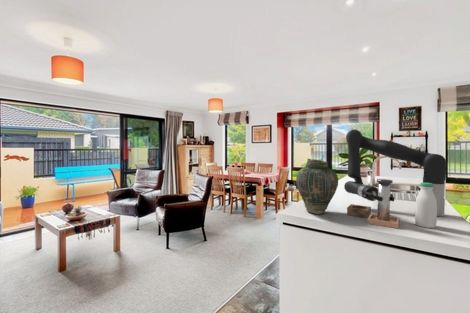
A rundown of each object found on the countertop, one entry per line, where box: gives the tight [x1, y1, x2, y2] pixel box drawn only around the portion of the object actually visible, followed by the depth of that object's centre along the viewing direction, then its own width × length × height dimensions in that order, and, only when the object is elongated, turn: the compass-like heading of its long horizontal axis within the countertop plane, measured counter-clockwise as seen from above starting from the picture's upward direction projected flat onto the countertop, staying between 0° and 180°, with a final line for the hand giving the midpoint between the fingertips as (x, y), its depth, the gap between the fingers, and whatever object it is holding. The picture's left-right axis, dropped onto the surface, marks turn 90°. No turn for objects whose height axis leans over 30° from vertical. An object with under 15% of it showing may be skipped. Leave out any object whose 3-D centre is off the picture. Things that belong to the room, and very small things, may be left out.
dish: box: [366, 212, 400, 230], centre depth 114 cm, size 12×12×2 cm
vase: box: [295, 158, 339, 215], centre depth 132 cm, size 22×22×30 cm
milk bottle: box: [414, 182, 438, 229], centre depth 109 cm, size 8×8×20 cm
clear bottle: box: [376, 178, 393, 221], centre depth 113 cm, size 6×6×19 cm
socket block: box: [346, 203, 372, 219], centre depth 128 cm, size 10×10×4 cm
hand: (387, 199), depth 111 cm, fingers closed on clear bottle, 5 cm apart
